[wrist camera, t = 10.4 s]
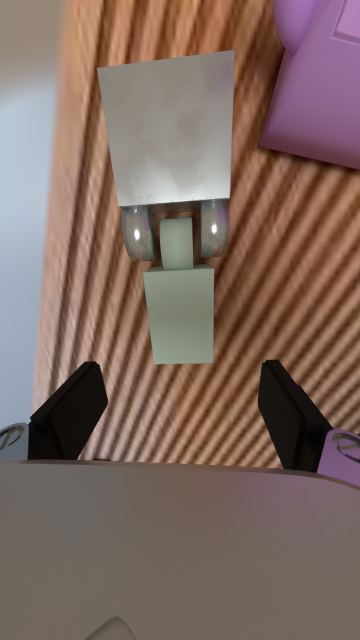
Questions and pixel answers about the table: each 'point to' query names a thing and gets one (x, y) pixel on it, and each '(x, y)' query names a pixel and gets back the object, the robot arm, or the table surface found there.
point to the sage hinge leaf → (180, 299)
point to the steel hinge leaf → (171, 145)
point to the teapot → (317, 82)
